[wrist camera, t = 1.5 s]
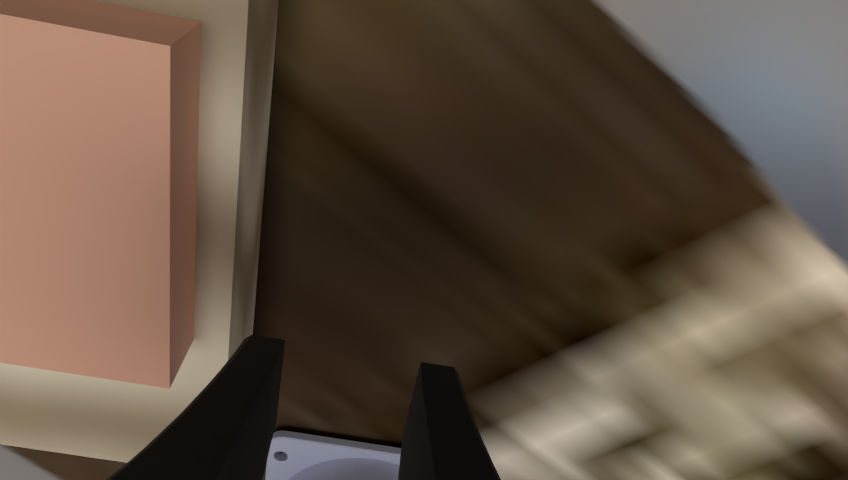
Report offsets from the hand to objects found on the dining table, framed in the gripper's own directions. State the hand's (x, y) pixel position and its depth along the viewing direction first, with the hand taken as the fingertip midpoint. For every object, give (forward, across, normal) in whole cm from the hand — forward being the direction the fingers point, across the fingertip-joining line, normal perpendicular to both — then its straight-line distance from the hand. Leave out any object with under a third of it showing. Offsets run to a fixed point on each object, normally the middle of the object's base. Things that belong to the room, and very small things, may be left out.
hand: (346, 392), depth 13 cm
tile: (+6, +8, 0) cm, 10 cm away
